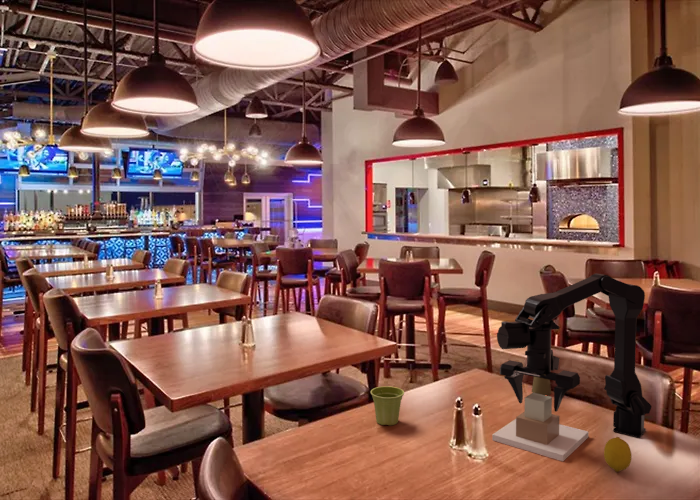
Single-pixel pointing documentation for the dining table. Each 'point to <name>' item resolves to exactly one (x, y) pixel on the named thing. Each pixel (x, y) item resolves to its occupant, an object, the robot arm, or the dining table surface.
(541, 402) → the sage block
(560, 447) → the build board
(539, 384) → the cork
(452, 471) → the dining table surface
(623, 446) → the lemon
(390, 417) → the plant pot
